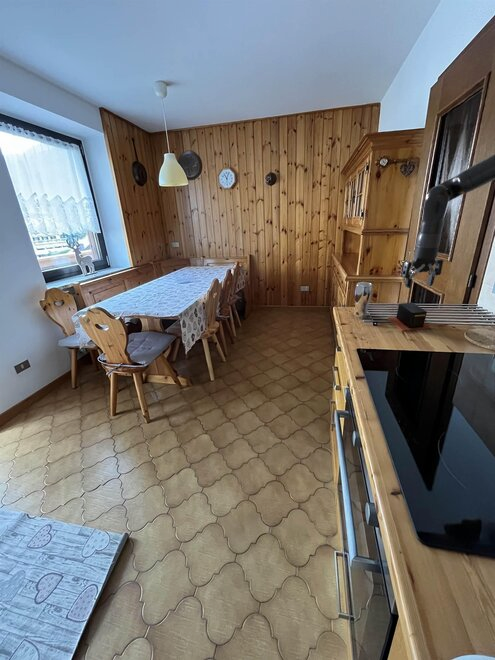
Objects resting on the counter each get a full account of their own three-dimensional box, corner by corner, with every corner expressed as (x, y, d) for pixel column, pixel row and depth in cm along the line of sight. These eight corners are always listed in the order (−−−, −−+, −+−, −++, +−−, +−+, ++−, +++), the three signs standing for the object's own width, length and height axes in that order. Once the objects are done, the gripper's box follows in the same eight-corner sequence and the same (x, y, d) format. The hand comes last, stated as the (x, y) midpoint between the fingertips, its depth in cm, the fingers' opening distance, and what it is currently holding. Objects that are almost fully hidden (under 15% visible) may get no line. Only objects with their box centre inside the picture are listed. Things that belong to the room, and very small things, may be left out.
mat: (414, 316, 126) (414, 315, 126) (431, 328, 116) (431, 327, 115) (387, 318, 126) (387, 317, 126) (402, 331, 115) (402, 330, 115)
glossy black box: (396, 318, 125) (398, 303, 122) (409, 317, 125) (412, 302, 122) (410, 329, 115) (413, 313, 112) (424, 328, 115) (428, 312, 112)
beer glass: (365, 311, 134) (370, 281, 127) (370, 318, 127) (374, 286, 121) (350, 312, 134) (354, 281, 127) (354, 318, 128) (358, 287, 121)
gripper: (439, 241, 109) (429, 282, 116) (403, 244, 108) (395, 285, 116) (453, 245, 102) (442, 288, 109) (414, 248, 102) (406, 291, 109)
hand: (418, 286), depth 112 cm, fingers open, 8 cm apart
